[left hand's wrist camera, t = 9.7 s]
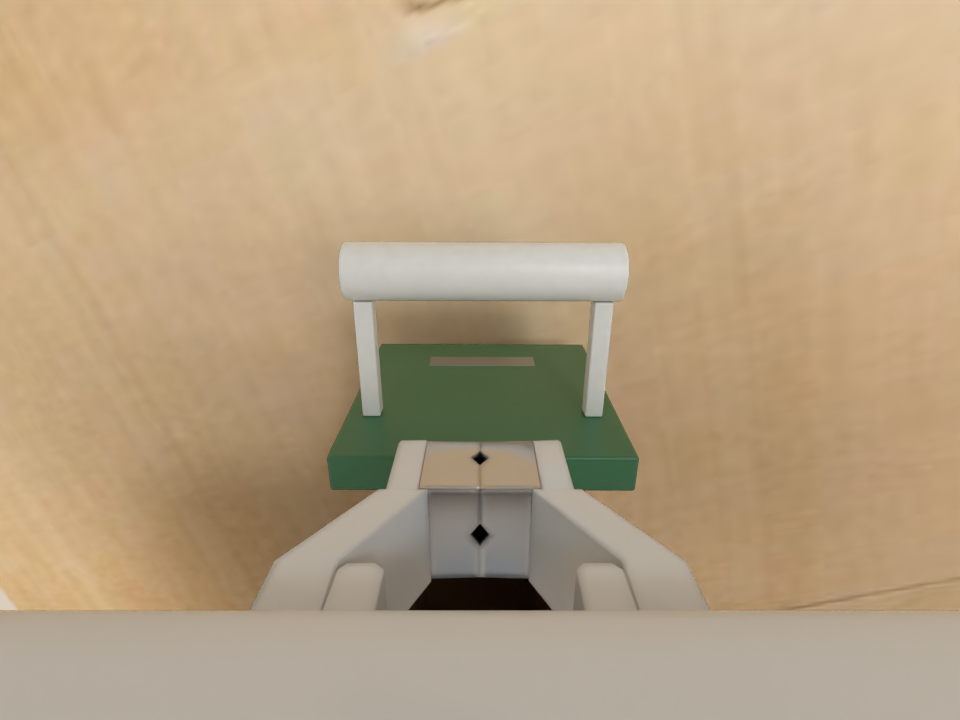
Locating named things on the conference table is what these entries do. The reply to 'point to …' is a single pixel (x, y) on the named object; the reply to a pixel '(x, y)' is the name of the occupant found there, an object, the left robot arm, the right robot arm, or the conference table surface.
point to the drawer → (483, 375)
